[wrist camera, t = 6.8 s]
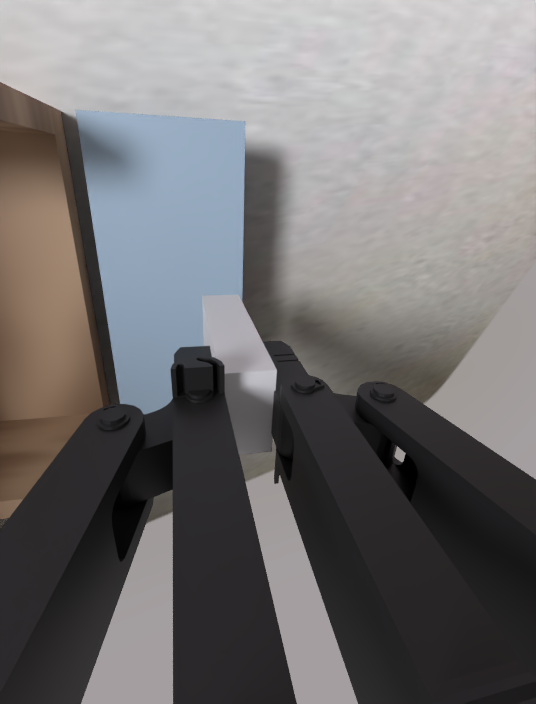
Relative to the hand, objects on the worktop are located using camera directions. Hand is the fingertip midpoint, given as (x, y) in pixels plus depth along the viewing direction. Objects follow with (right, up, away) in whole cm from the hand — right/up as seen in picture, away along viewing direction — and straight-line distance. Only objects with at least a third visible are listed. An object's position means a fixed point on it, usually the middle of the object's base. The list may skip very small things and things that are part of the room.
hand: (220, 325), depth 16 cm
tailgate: (-6, +2, +3) cm, 7 cm away
